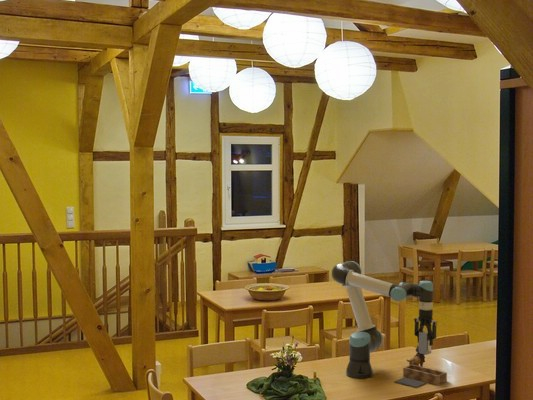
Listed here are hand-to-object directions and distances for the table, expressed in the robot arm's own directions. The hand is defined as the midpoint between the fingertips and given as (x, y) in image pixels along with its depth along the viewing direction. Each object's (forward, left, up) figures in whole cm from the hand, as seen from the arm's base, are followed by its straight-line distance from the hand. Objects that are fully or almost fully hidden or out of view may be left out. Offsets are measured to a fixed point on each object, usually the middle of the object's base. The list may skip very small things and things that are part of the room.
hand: (424, 349), depth 383 cm
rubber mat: (-2, -12, -16) cm, 21 cm away
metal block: (0, 0, -2) cm, 2 cm away
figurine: (-12, +11, -17) cm, 23 cm away
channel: (0, 0, -16) cm, 16 cm away
